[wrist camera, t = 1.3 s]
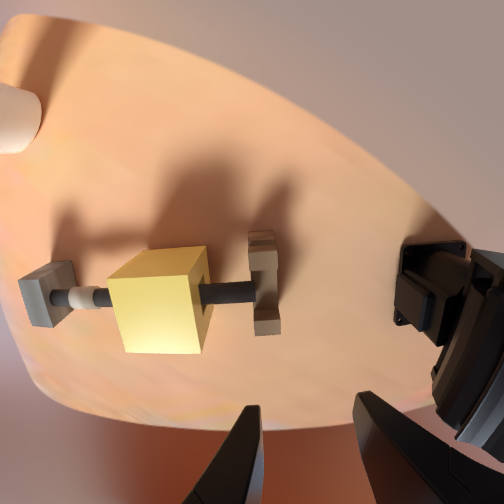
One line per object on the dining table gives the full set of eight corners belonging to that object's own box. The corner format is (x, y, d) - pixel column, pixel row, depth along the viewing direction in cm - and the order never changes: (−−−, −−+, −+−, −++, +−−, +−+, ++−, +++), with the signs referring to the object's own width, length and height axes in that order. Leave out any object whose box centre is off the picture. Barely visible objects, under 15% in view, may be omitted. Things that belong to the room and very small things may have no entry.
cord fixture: (272, 230, 19) (277, 246, 14) (276, 308, 20) (281, 342, 16) (48, 250, 19) (14, 266, 15) (64, 313, 21) (36, 337, 16)
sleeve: (205, 245, 19) (187, 274, 13) (213, 307, 20) (201, 353, 14) (143, 250, 19) (106, 279, 13) (154, 309, 20) (126, 352, 14)
